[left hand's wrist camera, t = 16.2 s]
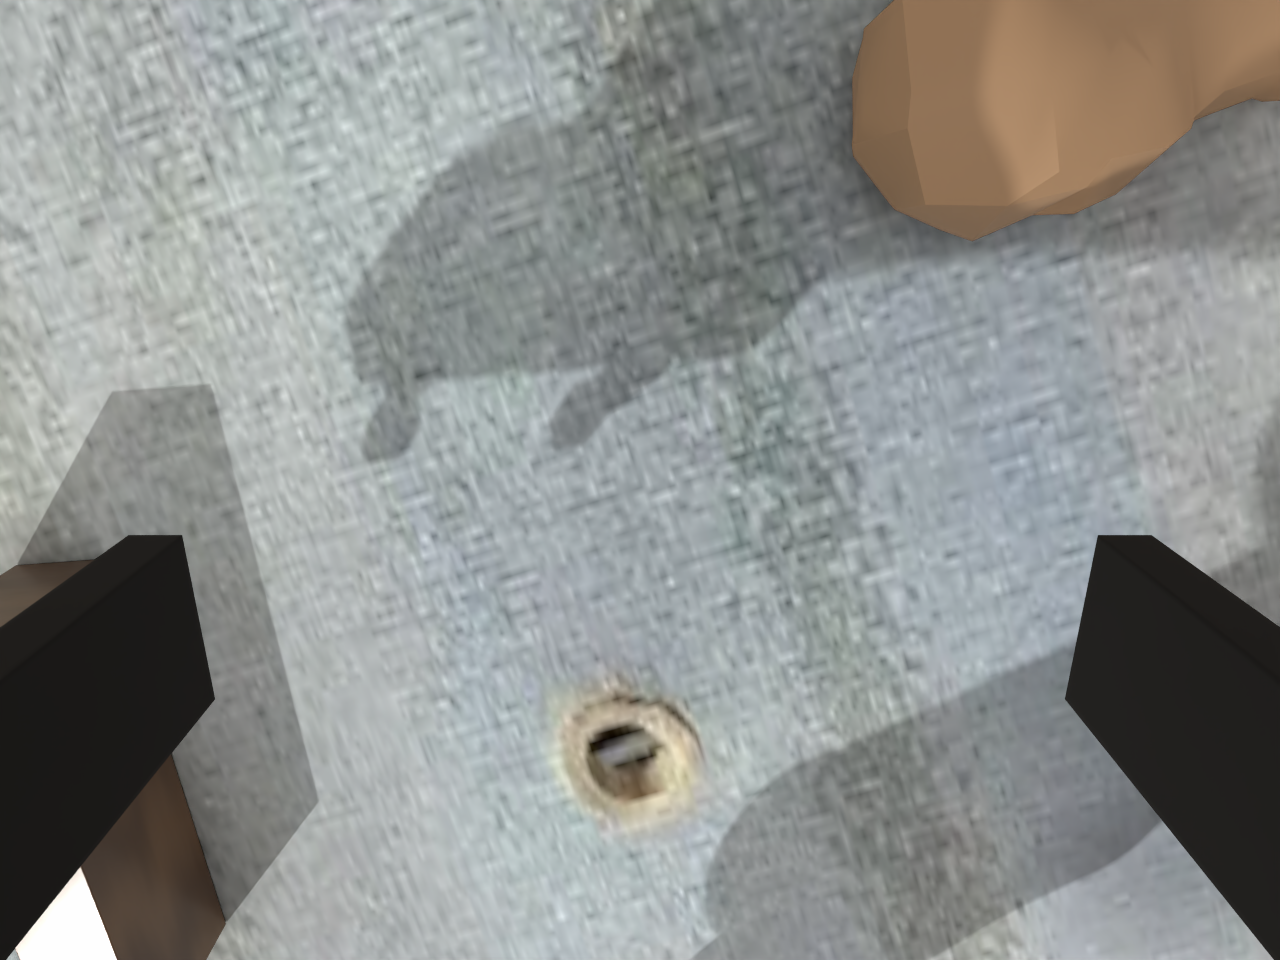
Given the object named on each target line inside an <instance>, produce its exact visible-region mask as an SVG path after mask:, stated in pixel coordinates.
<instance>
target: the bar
mask: <svg viewBox="0 0 1280 960" xmlns="http://www.w3.org/2000/svg"><path fill="white" fill-rule="evenodd" d="M92 561H93V560H85V561H71V562H58V563H44V564H30V565H16V566H14V567H13V568H11V569H10V570H8V571H7V572H5V573H3V574H2V575H0V627H1V626H3V625H4V624H5V623H7V622H8V621H10V620H11V619H12V618H14V617H15V616H17V615H18V614H19V613H21V612H22V611H24V610H25V609H26V608H28V607H29V606H31V605H32V604H33V603H35V602H36V601H38V600H39V599H40V598H42V597H43V596H45V595H46V594H47V593H49V592H50V591H52V590H53V589H54V588H56V587H57V586H58V585H60V584H61V583H63V582H64V581H65V580H67V579H68V578H70V577H71V576H72V575H74V574H75V573H77V572H78V571H79V570H81V569H82V568H84V567H85V566H86V565H88V564H89V563H91V562H92ZM225 924H226V923H225V920H224V917H223V914H222V910H221V907H220V904H219V901H218V898H217V895H216V892H215V889H214V886H213V883H212V879H211V876H210V873H209V870H208V867H207V864H206V861H205V858H204V855H203V852H202V848H201V845H200V842H199V839H198V836H197V833H196V830H195V827H194V824H193V821H192V817H191V814H190V811H189V808H188V805H187V802H186V799H185V796H184V793H183V790H182V786H181V783H180V780H179V777H178V774H177V771H176V768H175V765H174V762H173V759H172V755H170V756H169V757H168V758H167V759H166V761H165V762H164V763H163V764H162V766H161V767H160V768H159V769H158V771H157V772H156V773H155V774H154V776H153V777H152V778H151V779H150V781H149V782H148V783H147V784H146V786H145V787H144V788H143V789H142V791H141V792H140V793H139V794H138V796H137V797H136V798H135V799H134V801H133V802H132V803H131V804H130V806H129V807H128V808H127V809H126V811H125V812H124V813H123V814H122V816H121V817H120V818H119V819H118V821H117V822H116V823H115V824H114V826H113V827H112V828H111V829H110V831H109V832H108V833H107V834H106V836H105V837H104V838H103V839H102V841H101V842H100V843H99V844H98V846H97V847H96V848H95V849H94V851H93V852H92V853H91V854H90V856H89V857H88V858H87V859H86V861H85V862H84V863H83V864H82V866H81V867H80V868H79V869H78V871H77V872H76V873H75V874H74V876H73V877H72V878H71V879H70V880H69V882H68V883H67V884H66V885H65V887H64V888H63V889H62V890H61V892H60V893H59V894H58V895H57V897H56V898H55V899H54V900H53V902H52V903H51V904H50V905H49V907H48V908H47V909H46V910H45V912H44V913H43V914H42V915H41V917H40V918H39V919H38V920H37V922H36V923H35V924H34V925H33V927H32V928H31V929H30V930H29V932H28V933H27V934H26V935H25V937H24V938H23V939H22V940H21V942H20V943H19V944H18V945H17V947H16V948H15V950H16V952H17V954H18V957H19V959H20V960H206V959H207V957H208V955H209V954H210V952H211V950H212V948H213V946H214V945H215V943H216V941H217V939H218V937H219V935H220V934H221V932H222V930H223V928H224V926H225Z"/></svg>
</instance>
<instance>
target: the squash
mask: <svg viewBox="0 0 1280 960" xmlns="http://www.w3.org/2000/svg"><path fill="white" fill-rule="evenodd" d="M852 89H853V139H852V151H853V157H854V158H855V159H856V161H857V162H858V163H859V165H860V166H861V167H862V168H863V170H864V171H865V172H866V174H867V175H868V176H869V178H870V179H871V180H872V181H873V183H874V184H875V185H876V187H877V188H878V189H879V191H880V192H881V193H882V194H883V196H884V197H885V198H886V200H887V201H888V202H889V203H890V205H891V206H892V207H893V208H894V209H895V210H897V211H899V212H901V213H903V214H906V215H908V216H910V217H912V218H915V219H917V220H919V221H921V222H924V223H926V224H928V225H930V226H933V227H935V228H937V229H939V230H942V231H945V232H948V233H950V234H953V235H956V236H959V237H962V238H965V239H967V240H970V241H974V240H976V239H979V238H981V237H983V236H985V235H988V234H990V233H992V232H995V231H997V230H999V229H1002V228H1004V227H1006V226H1009V225H1011V224H1013V223H1015V222H1018V221H1020V220H1022V219H1025V218H1027V217H1029V216H1032V215H1051V214H1074V213H1077V212H1079V211H1081V210H1083V209H1085V208H1087V207H1090V206H1092V205H1094V204H1096V203H1098V202H1100V201H1102V200H1105V199H1107V198H1109V197H1111V196H1113V195H1115V194H1117V193H1118V192H1119V191H1120V190H1121V189H1122V188H1124V187H1125V186H1126V185H1127V184H1128V183H1129V182H1130V181H1132V180H1133V179H1134V178H1135V177H1136V176H1137V175H1139V174H1140V173H1141V172H1142V171H1143V170H1144V169H1145V168H1147V167H1148V166H1149V165H1150V164H1151V163H1152V162H1153V161H1155V160H1156V159H1157V158H1158V157H1159V156H1160V155H1161V154H1163V153H1164V152H1165V151H1166V150H1167V149H1168V148H1169V147H1171V146H1172V145H1173V144H1174V143H1175V142H1176V141H1177V140H1179V139H1180V138H1181V137H1182V136H1183V135H1184V134H1185V133H1187V132H1188V131H1189V130H1190V129H1191V127H1192V124H1193V121H1194V120H1197V119H1199V118H1201V117H1204V116H1206V115H1209V114H1211V113H1214V112H1217V111H1219V110H1222V109H1225V108H1227V107H1230V106H1233V105H1235V104H1238V103H1241V102H1243V101H1246V100H1249V99H1251V98H1253V99H1256V100H1259V101H1262V102H1264V101H1280V0H894V1H892V2H891V3H890V4H889V5H888V6H887V7H886V8H885V9H884V10H883V11H882V12H881V13H880V14H879V15H878V16H877V17H876V18H875V19H874V20H873V21H872V22H871V23H869V24H868V25H867V26H866V27H865V28H864V34H863V40H862V43H861V47H860V51H859V55H858V58H857V62H856V66H855V70H854V73H853V77H852Z"/></svg>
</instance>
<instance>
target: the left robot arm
mask: <svg viewBox="0 0 1280 960" xmlns="http://www.w3.org/2000/svg"><path fill="white" fill-rule="evenodd" d="M214 700H215V697H214V692H213V687H212V682H211V677H210V672H209V667H208V662H207V657H206V652H205V647H204V642H203V637H202V632H201V627H200V622H199V617H198V612H197V607H196V602H195V597H194V592H193V587H192V582H191V577H190V572H189V567H188V562H187V558H186V553H185V548H184V543H183V538H182V535H128V536H127V537H125V538H124V539H123V540H121V541H120V542H118V543H117V544H116V545H114V546H113V547H112V548H110V549H109V550H107V551H106V552H105V553H103V554H102V555H100V556H99V557H98V558H96V559H95V560H93V561H92V562H91V563H89V564H88V565H86V566H85V567H84V568H82V569H81V570H79V571H78V572H77V573H75V574H74V575H72V576H71V577H70V578H68V579H67V580H65V581H64V582H63V583H61V584H60V585H58V586H57V587H56V588H54V589H53V590H52V591H50V592H49V593H47V594H46V595H45V596H43V597H42V598H40V599H39V600H38V601H36V602H35V603H33V604H32V605H31V606H29V607H28V608H26V609H25V610H24V611H22V612H21V613H19V614H18V615H17V616H15V617H14V618H12V619H11V620H10V621H8V622H7V623H5V624H4V625H3V626H1V627H0V960H6V959H7V958H8V957H9V955H10V954H11V953H12V952H13V950H14V949H15V948H16V947H17V945H18V944H19V943H20V942H21V940H22V939H23V938H24V937H25V935H26V934H27V933H28V932H29V930H30V929H31V928H32V927H33V925H34V924H35V923H36V922H37V920H38V919H39V918H40V917H41V915H42V914H43V913H44V912H45V910H46V909H47V908H48V907H49V905H50V904H51V903H52V902H53V900H54V899H55V898H56V897H57V895H58V894H59V893H60V892H61V890H62V889H63V888H64V887H65V885H66V884H67V883H68V882H69V880H70V879H71V878H72V877H73V876H74V874H75V873H76V872H77V871H78V869H79V868H80V867H81V866H82V864H83V863H84V862H85V861H86V859H87V858H88V857H89V856H90V854H91V853H92V852H93V851H94V849H95V848H96V847H97V846H98V844H99V843H100V842H101V841H102V839H103V838H104V837H105V836H106V834H107V833H108V832H109V831H110V829H111V828H112V827H113V826H114V824H115V823H116V822H117V821H118V819H119V818H120V817H121V816H122V814H123V813H124V812H125V811H126V809H127V808H128V807H129V806H130V804H131V803H132V802H133V801H134V799H135V798H136V797H137V796H138V794H139V793H140V792H141V791H142V789H143V788H144V787H145V786H146V784H147V783H148V782H149V781H150V779H151V778H152V777H153V776H154V774H155V773H156V772H157V771H158V769H159V768H160V767H161V766H162V764H163V763H164V762H165V761H166V759H167V758H168V757H169V756H170V755H171V753H172V752H173V751H174V750H175V748H176V747H177V746H178V745H179V743H180V742H181V741H182V740H183V738H184V737H185V736H186V735H187V733H188V732H189V731H190V730H191V728H192V727H193V726H194V725H195V723H196V722H197V721H198V720H199V718H200V717H201V716H202V715H203V713H204V712H205V711H206V710H207V708H208V707H209V706H210V705H211V703H212V702H213V701H214ZM1065 700H1066V701H1067V702H1068V703H1069V705H1070V706H1071V707H1072V708H1073V710H1074V711H1075V712H1076V713H1077V715H1078V716H1079V717H1080V718H1081V720H1082V721H1083V722H1084V723H1085V725H1086V726H1087V727H1088V728H1089V730H1090V731H1091V732H1092V733H1093V735H1094V736H1095V737H1096V738H1097V740H1098V741H1099V742H1100V743H1101V745H1102V746H1103V747H1104V748H1105V750H1106V751H1107V752H1108V753H1109V755H1110V756H1111V757H1112V758H1113V759H1114V761H1115V762H1116V763H1117V764H1118V766H1119V767H1120V768H1121V769H1122V771H1123V772H1124V773H1125V774H1126V776H1127V777H1128V778H1129V779H1130V781H1131V782H1132V783H1133V784H1134V786H1135V787H1136V788H1137V789H1138V791H1139V792H1140V793H1141V794H1142V796H1143V797H1144V798H1145V799H1146V801H1147V802H1148V803H1149V804H1150V806H1151V807H1152V808H1153V809H1154V811H1155V812H1156V813H1157V814H1158V816H1159V817H1160V818H1161V819H1162V821H1163V822H1164V823H1165V824H1166V826H1167V827H1168V828H1169V829H1170V831H1171V832H1172V833H1173V834H1174V836H1175V837H1176V838H1177V839H1178V841H1179V842H1180V843H1181V844H1182V846H1183V847H1184V848H1185V849H1186V851H1187V852H1188V853H1189V854H1190V856H1191V857H1192V858H1193V859H1194V861H1195V862H1196V863H1197V864H1198V866H1199V867H1200V868H1201V869H1202V871H1203V872H1204V873H1205V874H1206V876H1207V877H1208V878H1209V879H1210V880H1211V882H1212V883H1213V884H1214V885H1215V887H1216V888H1217V889H1218V890H1219V892H1220V893H1221V894H1222V895H1223V897H1224V898H1225V899H1226V900H1227V902H1228V903H1229V904H1230V905H1231V907H1232V908H1233V909H1234V910H1235V912H1236V913H1237V914H1238V915H1239V917H1240V918H1241V919H1242V920H1243V922H1244V923H1245V924H1246V925H1247V927H1248V928H1249V929H1250V930H1251V932H1252V933H1253V934H1254V935H1255V937H1256V938H1257V939H1258V940H1259V942H1260V943H1261V944H1262V945H1263V947H1264V948H1265V949H1266V950H1267V952H1268V953H1269V954H1270V955H1271V957H1272V958H1273V959H1274V960H1280V627H1279V626H1277V625H1276V624H1275V623H1273V622H1272V621H1270V620H1269V619H1268V618H1266V617H1265V616H1263V615H1262V614H1261V613H1259V612H1258V611H1256V610H1255V609H1254V608H1252V607H1251V606H1249V605H1248V604H1247V603H1245V602H1244V601H1242V600H1241V599H1240V598H1238V597H1237V596H1235V595H1234V594H1233V593H1231V592H1230V591H1228V590H1227V589H1226V588H1224V587H1223V586H1222V585H1220V584H1219V583H1217V582H1216V581H1215V580H1213V579H1212V578H1210V577H1209V576H1208V575H1206V574H1205V573H1203V572H1202V571H1201V570H1199V569H1198V568H1196V567H1195V566H1194V565H1192V564H1191V563H1189V562H1188V561H1187V560H1185V559H1184V558H1182V557H1181V556H1180V555H1178V554H1177V553H1175V552H1174V551H1173V550H1171V549H1170V548H1168V547H1167V546H1166V545H1164V544H1163V543H1162V542H1160V541H1159V540H1157V539H1156V538H1155V537H1153V536H1152V535H1098V538H1097V543H1096V548H1095V553H1094V558H1093V562H1092V567H1091V572H1090V577H1089V582H1088V587H1087V592H1086V597H1085V602H1084V607H1083V612H1082V617H1081V622H1080V627H1079V632H1078V637H1077V642H1076V647H1075V652H1074V657H1073V662H1072V667H1071V672H1070V677H1069V682H1068V687H1067V692H1066V697H1065Z"/></svg>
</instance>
